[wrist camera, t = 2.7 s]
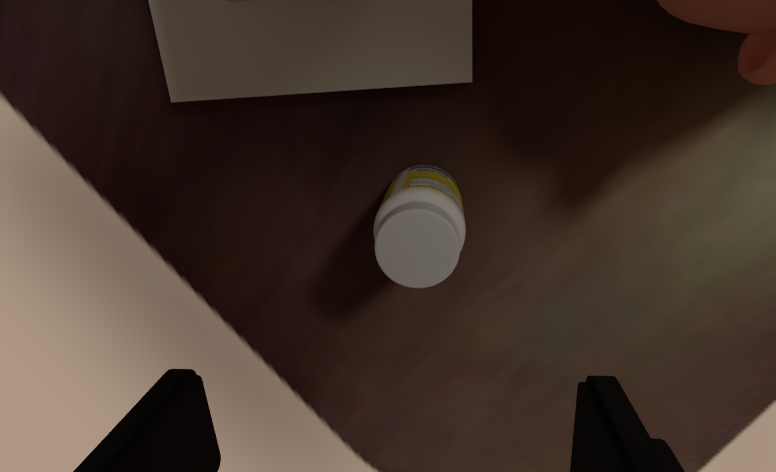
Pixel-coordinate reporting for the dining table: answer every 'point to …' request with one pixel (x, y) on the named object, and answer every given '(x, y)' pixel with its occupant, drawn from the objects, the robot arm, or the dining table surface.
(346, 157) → the dining table surface
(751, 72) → the teapot
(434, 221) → the supplement bottle
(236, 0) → the birch block
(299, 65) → the base plate
